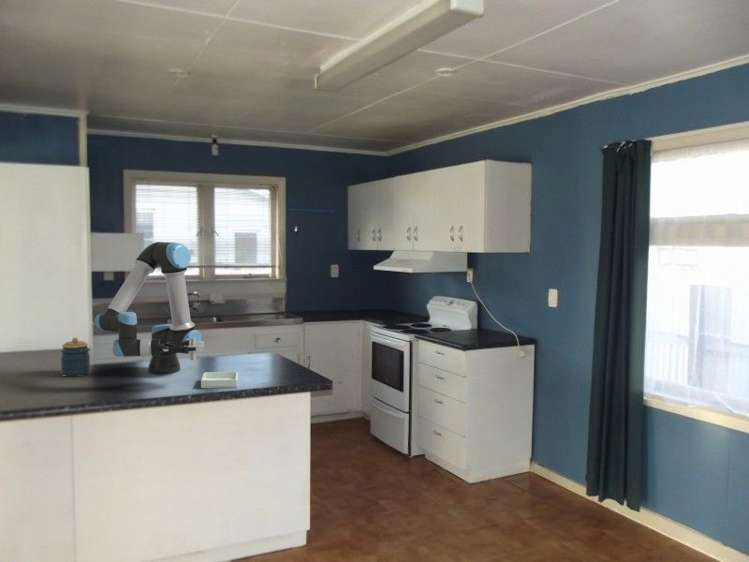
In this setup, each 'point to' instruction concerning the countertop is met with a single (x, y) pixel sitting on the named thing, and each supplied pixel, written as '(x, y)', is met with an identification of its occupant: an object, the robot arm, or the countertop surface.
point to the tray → (219, 380)
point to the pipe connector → (192, 345)
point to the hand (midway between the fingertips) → (203, 346)
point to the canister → (75, 358)
